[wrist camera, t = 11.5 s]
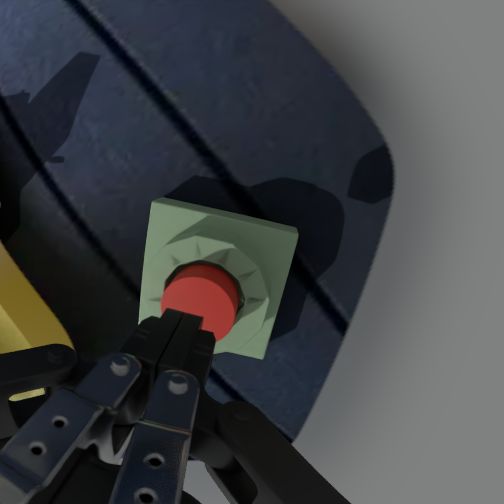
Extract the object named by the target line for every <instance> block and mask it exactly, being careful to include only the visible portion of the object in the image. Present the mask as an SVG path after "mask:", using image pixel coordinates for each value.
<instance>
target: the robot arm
mask: <svg viewBox="0 0 504 504" xmlns="http://www.w3.org/2000/svg"><path fill="white" fill-rule="evenodd" d="M203 320H204V317H202V316H198V315H194V314H190V313H187V312H186V313H185V312H183V311H179V310H175V309H172V308H168V307H167V308H166V309H165V311H164V312H163V314H162V315H161V317H160V318H159V317H155V316H150V317H148V318H146V319H144V320H142V321H141V323H140V324H139V325H138V327H137V329H135V331H134V332H133V334H132V335H131V336H130V337H129V339H128V340H127V341H126V343H125V344H124V345H123V347H122V348H121V350H120V351H119V352H115V353H110V354H107V355H105V356H104V357H103V358H102V359H101V360H100V361H99V362H98V363H94V362H86V361H79V360H77V355H76V352H75V351H74V350H73V349H72V348H70V347H69V346H67V345H63V344H49V345H45V346H40V347H35V348H30V349H25V350H19V351H14V352H9V353H4V354H0V504H201V503H200V502H199V501H198V500H196V499H195V498H194V497H193V496H191V495H190V494H188V493H187V492H185V491H183V484H184V478H185V471H186V466H187V460H188V454H190V455H191V456H193V457H195V458H197V459H199V460H200V461H202V462H204V463H205V467H206V469H207V471H208V473H209V474H210V476H211V477H212V478H213V480H214V481H215V483H216V484H217V486H218V487H219V488H220V490H221V491H222V492H223V494H224V495H225V497H226V498H227V499H228V501H229V502H230V504H351V503H350V502H349V501H348V500H346V499H345V498H344V497H343V496H342V495H341V494H340V493H339V492H338V491H337V490H336V489H335V488H334V487H333V486H332V485H331V484H330V483H329V482H328V481H326V479H325V478H323V476H321V475H320V474H319V473H318V472H317V471H316V470H315V469H314V468H313V467H312V466H311V464H309V463H308V461H307V460H306V459H304V457H303V456H302V455H301V454H300V453H299V452H298V451H297V450H296V449H295V448H294V447H293V446H292V445H291V444H290V443H289V442H288V441H287V439H286V438H285V437H284V436H283V435H282V434H281V433H280V432H279V431H278V430H277V429H276V428H275V426H274V425H273V424H272V423H271V422H270V421H269V420H268V419H267V418H266V416H265V415H264V414H263V413H262V412H261V411H260V410H259V409H258V408H257V407H256V406H254V405H252V404H250V403H247V402H244V401H230V402H227V403H225V404H221V403H219V402H217V401H216V400H214V399H213V398H211V397H210V396H209V395H208V394H207V392H206V391H205V385H206V382H207V378H208V375H209V372H210V368H211V363H212V358H213V354H214V349H215V344H216V338H215V336H214V333H213V332H211V331H207V330H203V329H202V326H203ZM40 388H44V391H45V394H44V395H40V396H36V397H32V398H27V399H23V400H19V401H10V400H8V399H9V398H10V397H11V396H12V395H14V394H18V393H23V392H27V391H31V390H36V389H40ZM144 410H145V412H144ZM143 412H144V415H143V418H142V420H140V418H141V416H142V414H143ZM127 446H128V447H127ZM126 447H127V449H126ZM125 449H126V452H125V455H124V458H123V461H122V464H121V465H117V464H118V461H119V459H120V458H121V456H122V454H123V453H124V451H125Z"/></svg>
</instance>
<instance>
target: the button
mask: <svg viewBox="0 0 504 504" xmlns="http://www.w3.org/2000/svg"><path fill="white" fill-rule="evenodd" d="M238 305H239V294H238V290H237V287H236V285H235V283H234V282H233V280H232V279H231V278H230V277H229V276H228V275H227V274H226V273H225V272H224V271H222V270H220V269H219V268H216V267H214V266H211V265H206V264H197V265H192V266H189V267H187V268H185V269H183V270H182V271H180V272H179V273H178V274H177V276H176V277H175V278H174V279H173V281H172V282H171V283H170V284H169V286H168V287H167V288H166V290H165V291H164V293H163V295H162V299H161V313H162V314H163V312H164V311H165V309H166V308H167V307H168V308H172V309H175V310H179V311H183V312H185V313H186V312H187V313H190V314H194V315H198V316H202V317H204V320H203V326H202V329H203V330H207V331H211V332H213V333H214V336H215V338H216V342H217V341H219V340H221V339H223V338H224V337H225V336H226V335H227V334H228V333H229V332H230V330H231V329H232V327H233V325H234V321H235V317H236V313H237V309H238Z"/></svg>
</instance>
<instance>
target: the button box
mask: <svg viewBox="0 0 504 504" xmlns="http://www.w3.org/2000/svg"><path fill="white" fill-rule="evenodd" d="M298 236H299V235H298V231H297V228H296V227H292V226H288V225H283V224H279V223H275V222H271V221H267V220H262V219H258V218H254V217H250V216H245V215H241V214H237V213H232V212H228V211H223V210H219V209H214V208H210V207H205V206H201V205H196V204H192V203H187V202H182V201H178V200H173V199H168V198H164V197H162V198H159V199H157V200H154V201H152V205H151V211H150V218H149V225H148V233H147V241H146V249H145V258H144V267H143V277H142V287H141V299H140V312H139V324H140V323H141V321H142V320H144V319H146V318H148V317H150V316H155V317H159V318H160V317H161V315H162V313H161V299H162V295H163V293H164V291H165V290H166V288H167V287H168V286H169V284H170V283H171V282H172V281H173V279H174V278H175V277H176V276H177V274H178V273H179V272H180V271H182V270H183V269H185V268H187V267H189V266H192V265H197V264H206V265H211V266H214V267H216V268H219V269H220V270H222V271H224V272H225V273H226V274H227V275H228V276H229V277H230V278H231V279H232V280H233V282H234V283H235V285H236V287H237V290H238V294H239V305H238V309H237V313H236V317H235V321H234V325H233V327H232V329H231V330H230V332H229V333H228V334H227V335H226V336H225V337H224V338H223V339H221V340H219V341H217V342H216V344H215V349H214V354H216V353H221V352H226V351H228V352H232V353H236V354H241V355H245V356H250V357H254V358H259V359H263V358H264V355H265V352H266V349H267V345H268V342H269V339H270V335H271V332H272V329H273V325H274V322H275V318H276V315H277V312H278V308H279V305H280V301H281V298H282V294H283V291H284V287H285V284H286V280H287V277H288V273H289V269H290V266H291V262H292V258H293V255H294V251H295V247H296V244H297V240H298Z"/></svg>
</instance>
